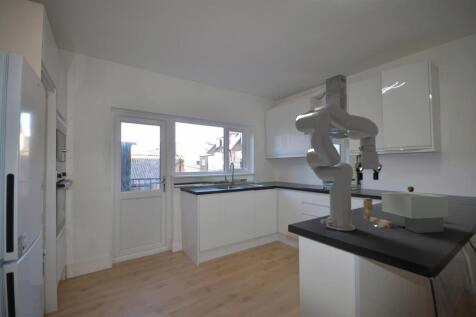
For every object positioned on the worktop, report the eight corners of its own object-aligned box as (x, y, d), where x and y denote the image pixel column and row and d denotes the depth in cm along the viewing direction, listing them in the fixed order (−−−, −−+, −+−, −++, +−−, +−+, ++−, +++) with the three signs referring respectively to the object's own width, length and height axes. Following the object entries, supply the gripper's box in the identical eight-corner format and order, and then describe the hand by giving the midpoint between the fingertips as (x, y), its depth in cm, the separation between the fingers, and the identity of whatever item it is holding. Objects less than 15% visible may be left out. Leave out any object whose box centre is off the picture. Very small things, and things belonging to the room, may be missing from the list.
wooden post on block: (363, 219, 118) (363, 197, 119) (368, 219, 119) (368, 197, 119) (388, 227, 103) (387, 203, 103) (393, 227, 103) (393, 202, 103)
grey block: (411, 233, 95) (411, 197, 95) (381, 223, 111) (380, 192, 111) (448, 231, 98) (447, 196, 98) (413, 221, 114) (413, 191, 115)
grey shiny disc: (372, 225, 108) (372, 223, 108) (383, 226, 107) (383, 224, 107) (375, 228, 103) (375, 226, 103) (387, 229, 102) (387, 227, 102)
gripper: (358, 148, 113) (358, 180, 112) (387, 148, 115) (387, 180, 115) (349, 149, 120) (349, 179, 120) (376, 149, 123) (376, 179, 122)
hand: (368, 179), depth 117 cm, fingers open, 9 cm apart
